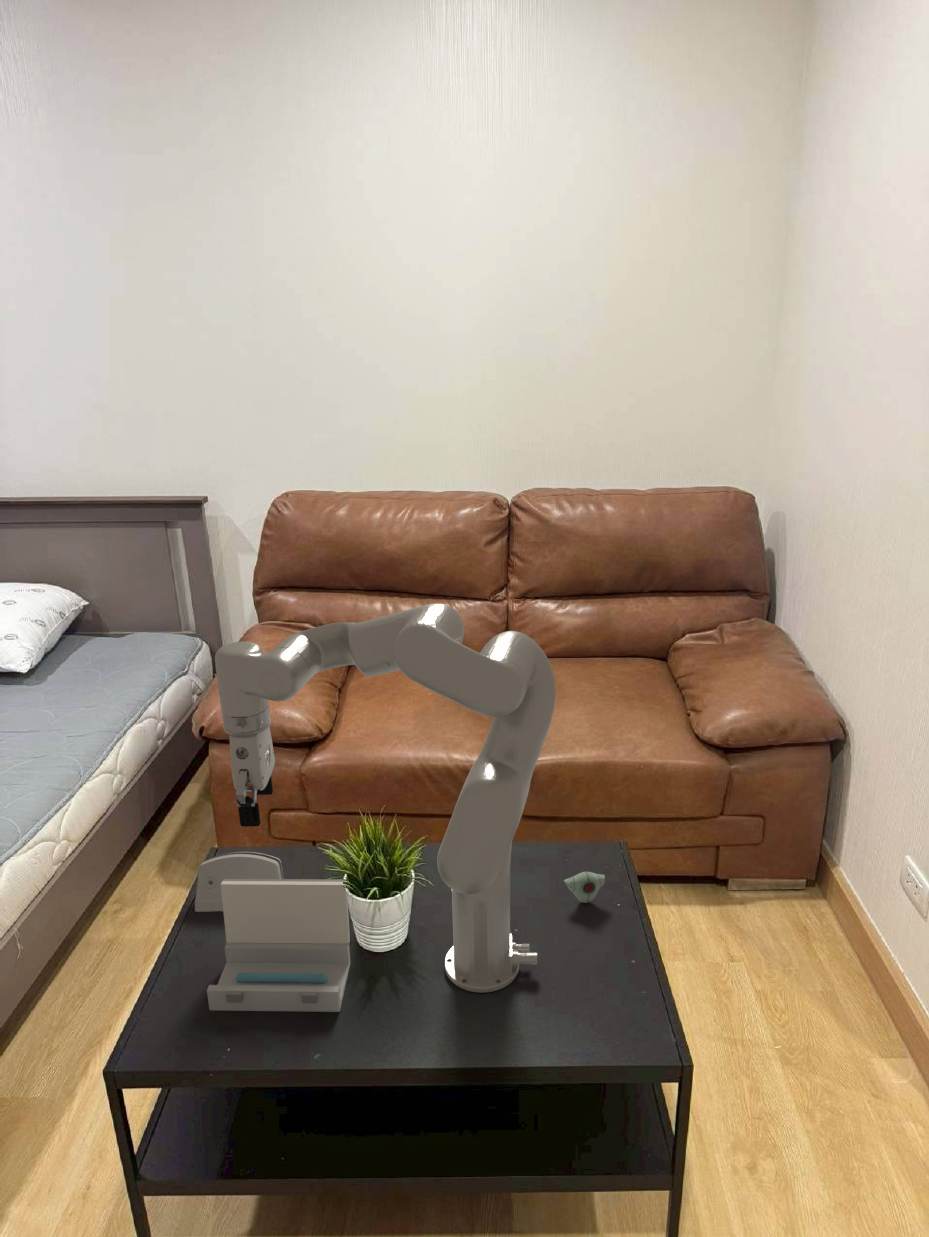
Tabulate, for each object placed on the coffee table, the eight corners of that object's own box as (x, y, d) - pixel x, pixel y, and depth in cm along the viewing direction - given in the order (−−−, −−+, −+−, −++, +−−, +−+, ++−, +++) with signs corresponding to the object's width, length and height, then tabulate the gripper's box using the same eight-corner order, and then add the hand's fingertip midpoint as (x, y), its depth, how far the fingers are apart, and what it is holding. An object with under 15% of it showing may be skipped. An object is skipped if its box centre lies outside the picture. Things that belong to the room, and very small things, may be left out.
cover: (348, 943, 152) (350, 937, 153) (345, 884, 149) (347, 879, 150) (226, 942, 152) (229, 936, 154) (220, 884, 150) (223, 878, 151)
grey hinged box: (350, 963, 153) (349, 944, 152) (338, 1015, 142) (337, 995, 141) (229, 962, 154) (226, 943, 153) (208, 1014, 143) (205, 994, 141)
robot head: (602, 893, 169) (603, 863, 167) (609, 907, 166) (611, 876, 163) (561, 898, 168) (562, 868, 166) (567, 912, 164) (568, 881, 162)
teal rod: (328, 978, 148) (328, 971, 148) (327, 984, 147) (326, 977, 146) (236, 977, 149) (236, 970, 148) (234, 983, 148) (233, 976, 147)
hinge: (192, 911, 167) (191, 858, 167) (200, 903, 171) (198, 851, 171) (282, 909, 167) (281, 856, 167) (287, 901, 172) (286, 849, 172)
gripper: (257, 742, 137) (268, 838, 143) (280, 694, 153) (289, 782, 159) (208, 743, 137) (221, 839, 143) (236, 695, 153) (247, 783, 159)
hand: (257, 809), depth 151 cm, fingers open, 9 cm apart
